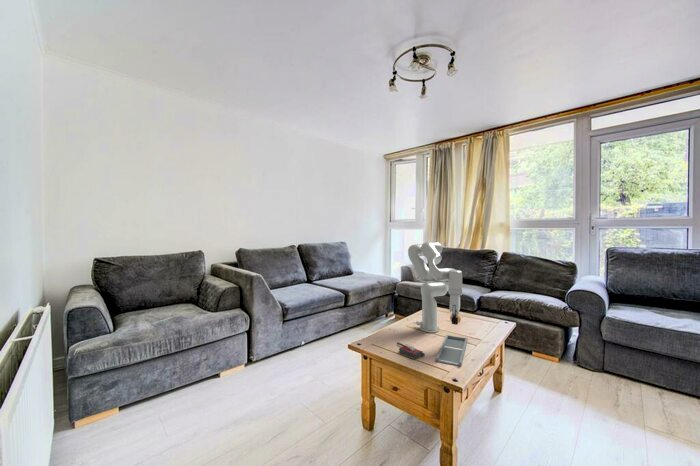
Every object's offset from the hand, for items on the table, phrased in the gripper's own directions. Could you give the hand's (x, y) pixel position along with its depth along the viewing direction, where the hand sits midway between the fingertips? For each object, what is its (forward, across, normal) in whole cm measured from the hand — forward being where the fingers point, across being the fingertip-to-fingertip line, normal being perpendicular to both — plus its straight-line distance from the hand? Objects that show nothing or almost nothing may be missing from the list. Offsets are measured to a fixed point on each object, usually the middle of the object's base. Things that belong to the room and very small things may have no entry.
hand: (455, 322), depth 167 cm
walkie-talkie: (+14, +21, -23) cm, 34 cm away
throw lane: (+14, +8, 0) cm, 16 cm away
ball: (-2, 0, 0) cm, 2 cm away
